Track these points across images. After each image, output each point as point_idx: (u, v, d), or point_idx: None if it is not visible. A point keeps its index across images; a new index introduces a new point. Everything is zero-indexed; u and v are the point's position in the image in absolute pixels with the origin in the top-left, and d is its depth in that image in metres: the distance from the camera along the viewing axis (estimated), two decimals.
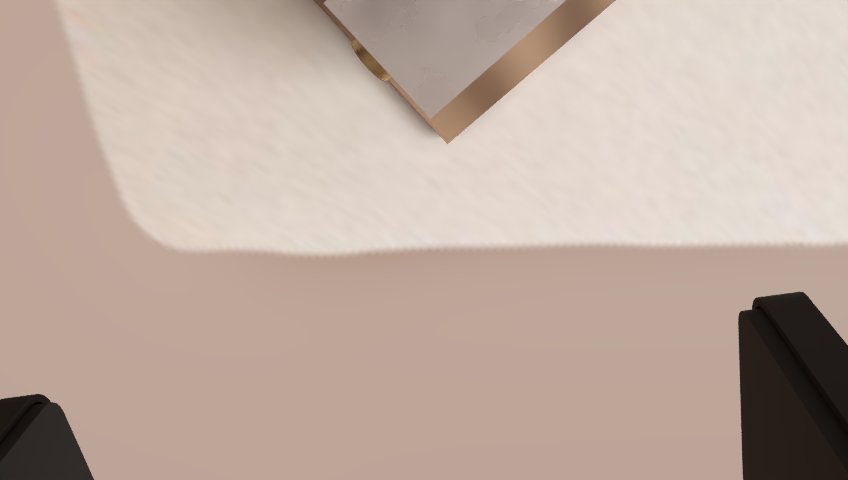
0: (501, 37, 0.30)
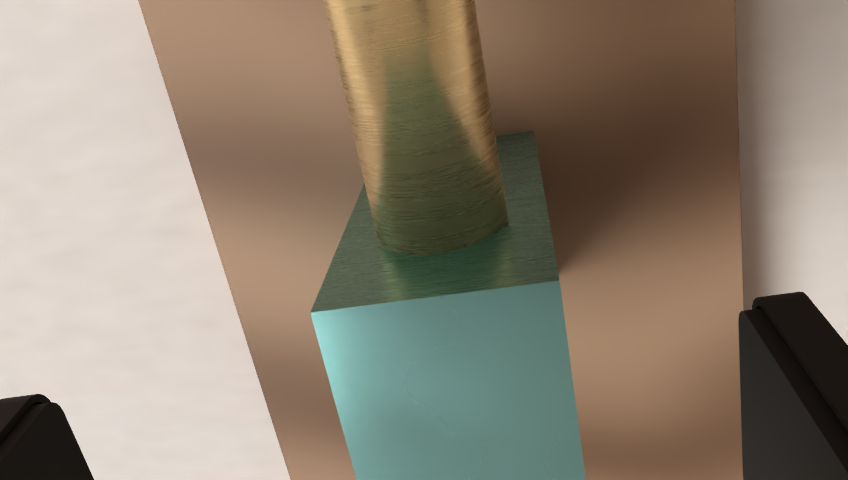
0: None
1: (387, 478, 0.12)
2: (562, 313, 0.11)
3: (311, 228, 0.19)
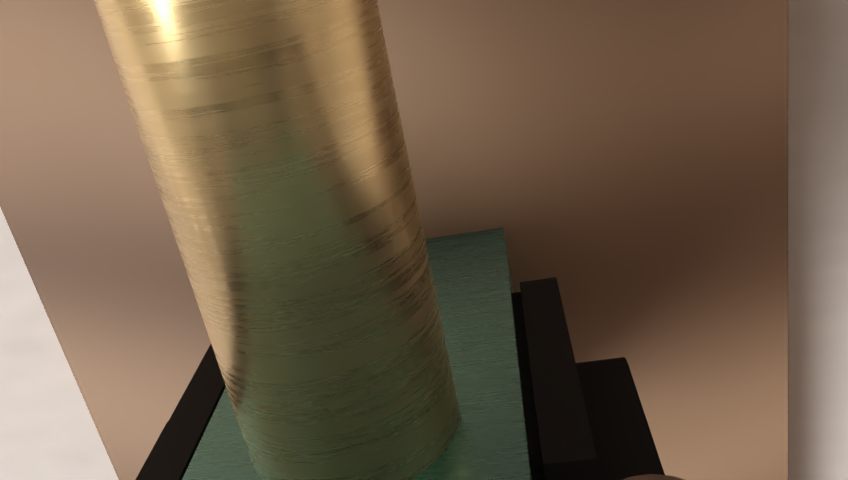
0: None
1: None
2: None
3: (201, 352, 0.14)
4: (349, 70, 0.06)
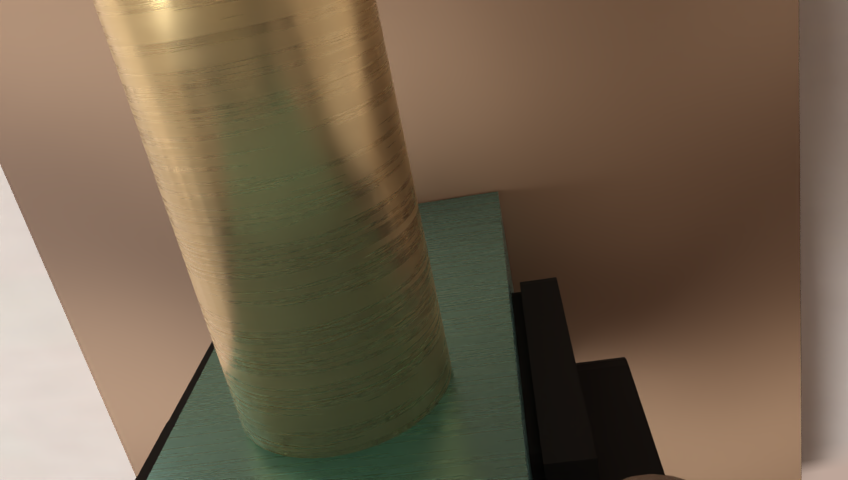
0: None
1: None
2: None
3: None
4: (334, 3, 0.06)
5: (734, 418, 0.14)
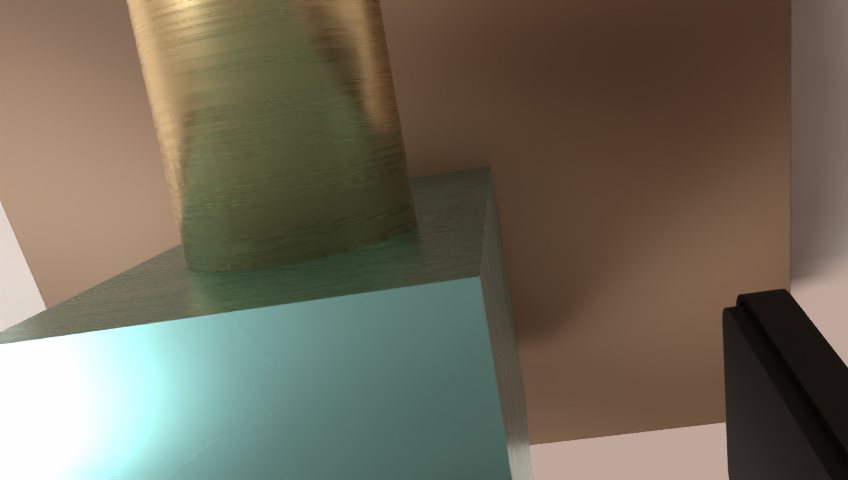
0: None
1: None
2: (489, 354, 0.05)
3: None
4: None
5: (715, 200, 0.12)
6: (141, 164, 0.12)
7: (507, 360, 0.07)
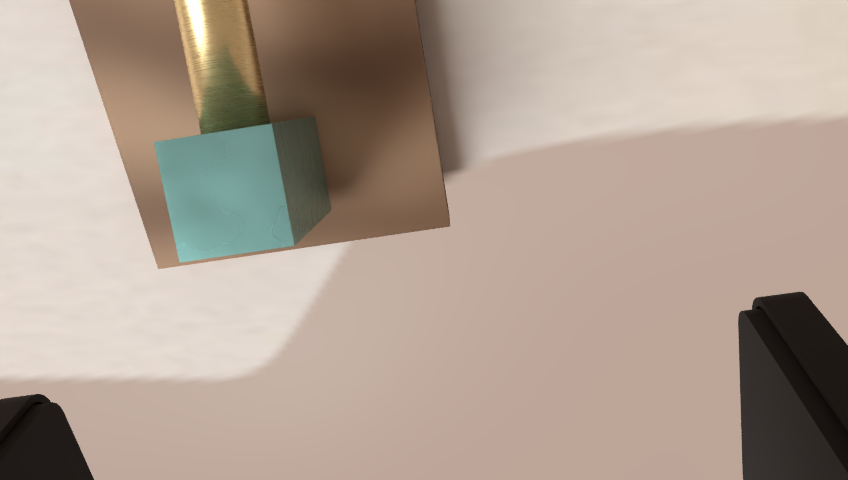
0: None
1: (191, 241, 0.23)
2: (274, 141, 0.23)
3: None
4: None
5: (405, 130, 0.30)
6: (172, 114, 0.30)
7: (296, 163, 0.25)
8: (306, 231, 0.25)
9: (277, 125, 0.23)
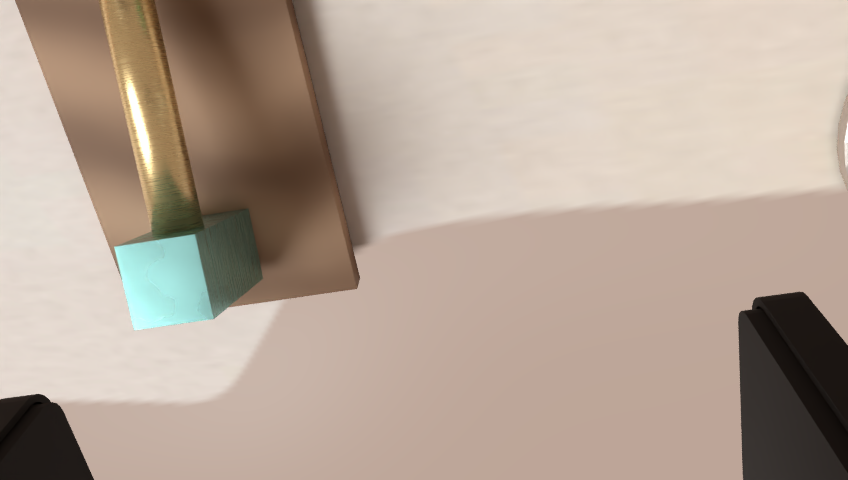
0: None
1: (142, 315, 0.33)
2: (197, 246, 0.32)
3: (83, 44, 0.36)
4: (172, 141, 0.33)
5: (317, 218, 0.39)
6: (142, 207, 0.39)
7: (221, 255, 0.35)
8: (229, 304, 0.35)
9: (201, 233, 0.33)
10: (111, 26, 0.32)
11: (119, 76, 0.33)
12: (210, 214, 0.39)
